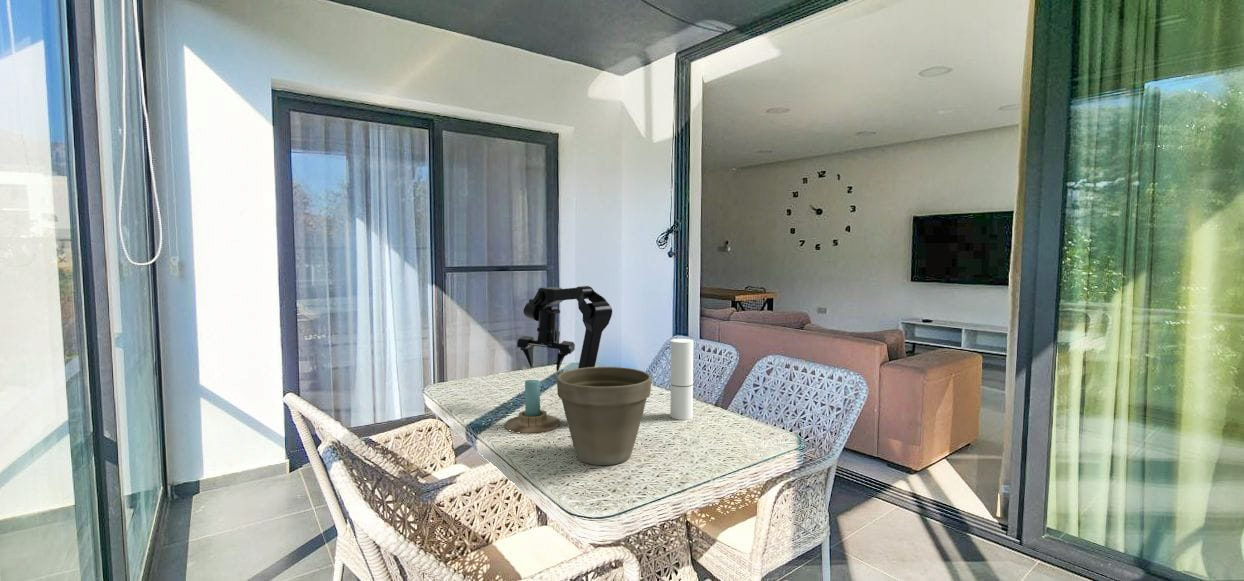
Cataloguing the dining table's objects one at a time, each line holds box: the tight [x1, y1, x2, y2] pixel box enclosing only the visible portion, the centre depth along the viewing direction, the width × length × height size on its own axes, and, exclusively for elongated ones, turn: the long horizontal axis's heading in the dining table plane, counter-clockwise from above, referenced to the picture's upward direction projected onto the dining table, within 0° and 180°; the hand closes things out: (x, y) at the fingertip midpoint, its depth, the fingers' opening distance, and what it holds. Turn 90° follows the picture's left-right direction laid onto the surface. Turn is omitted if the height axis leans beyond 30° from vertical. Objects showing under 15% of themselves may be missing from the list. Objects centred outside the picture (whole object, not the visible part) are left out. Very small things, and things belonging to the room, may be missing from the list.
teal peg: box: [524, 379, 541, 417], centre depth 175 cm, size 4×4×13 cm
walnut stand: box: [504, 409, 561, 434], centre depth 175 cm, size 17×17×4 cm
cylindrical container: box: [669, 338, 694, 421], centre depth 182 cm, size 7×7×25 cm
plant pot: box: [556, 366, 652, 466], centre depth 149 cm, size 25×25×22 cm
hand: (544, 369), depth 191 cm, fingers open, 9 cm apart
